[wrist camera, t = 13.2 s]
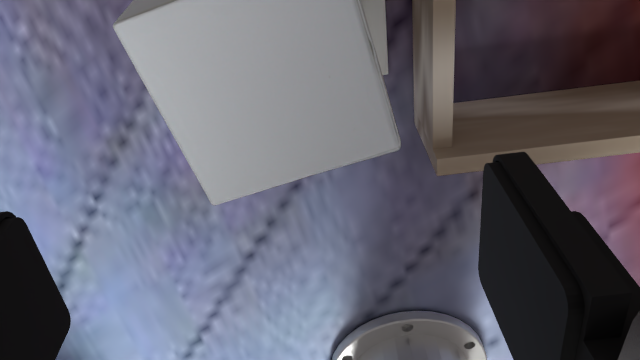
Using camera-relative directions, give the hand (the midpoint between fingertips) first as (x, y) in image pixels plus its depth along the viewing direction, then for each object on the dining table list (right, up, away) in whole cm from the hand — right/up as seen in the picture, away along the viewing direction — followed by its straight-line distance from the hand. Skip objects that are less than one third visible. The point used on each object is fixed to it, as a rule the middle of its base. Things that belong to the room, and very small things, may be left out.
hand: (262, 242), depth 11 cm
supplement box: (-1, +11, +17) cm, 20 cm away
